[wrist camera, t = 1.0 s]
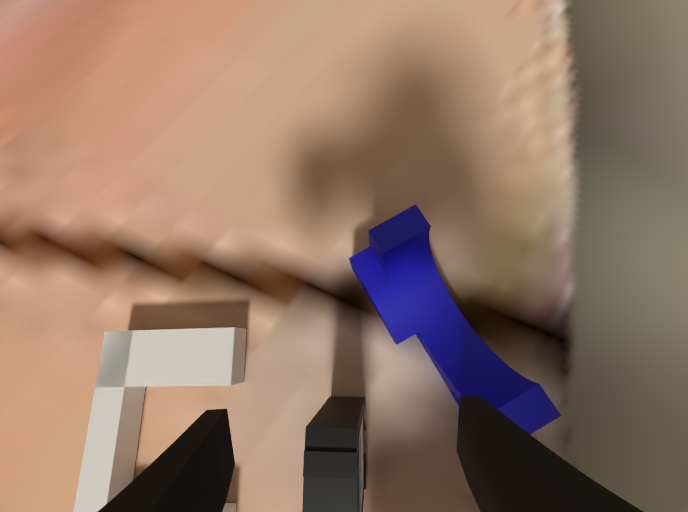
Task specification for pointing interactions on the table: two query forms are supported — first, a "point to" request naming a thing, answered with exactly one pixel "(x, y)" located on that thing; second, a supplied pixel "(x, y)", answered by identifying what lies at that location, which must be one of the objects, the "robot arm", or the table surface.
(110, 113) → the table surface
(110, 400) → the groove holder
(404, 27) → the table surface
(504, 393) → the blue curved piece
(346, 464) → the ink cartridge
